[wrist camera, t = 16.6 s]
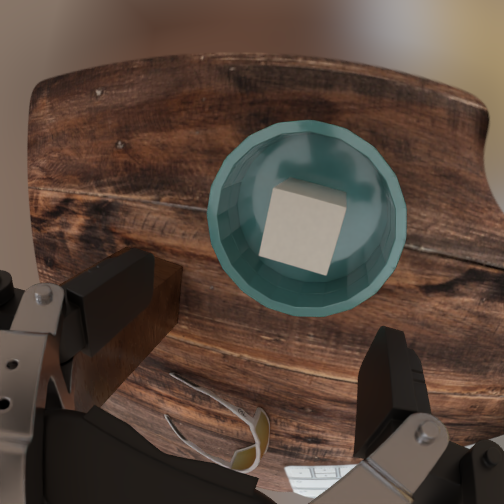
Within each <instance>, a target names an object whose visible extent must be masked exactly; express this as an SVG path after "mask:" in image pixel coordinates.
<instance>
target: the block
mask: <svg viewBox="0 0 504 504" xmlns="http://www.w3.org/2000/svg"><path fill="white" fill-rule="evenodd" d="M346 208H347V207H346V192H343V191H340V190H336V189H332V188H329V187H325V186H322V185H318V184H314V183H310V182H307V181H303V180H299V179H295V178H291V177H290V178H288V179H287V180H285V181H283V182H282V183H280V184H279V185H277V186H275V187H274V188H273V191H272V195H271V200H270V205H269V209H268V214H267V219H266V223H265V228H264V233H263V237H262V242H261V247H260V251H259V256H261V257H265V258H268V259H271V260H275V261H278V262H282V263H285V264H288V265H292V266H295V267H299V268H302V269H305V270H309V271H312V272H315V273H319V274H322V275H327V272H328V269H329V266H330V263H331V260H332V256H333V253H334V250H335V247H336V243H337V240H338V236H339V233H340V230H341V226H342V223H343V219H344V216H345V212H346Z"/></svg>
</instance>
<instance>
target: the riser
mask: <svg viewBox="0 0 504 504" xmlns="http://www.w3.org/2000/svg"><path fill="white" fill-rule="evenodd" d="M130 249H131V248H128V247H125V248H123V249H122V250H120V251H118V252H116V253H114V254H112V255H111V256H109V257H107V258H105V259H103V260H102V261H104V260H106V259H109V258H113V257H117V256H120V255H121V254H123V253H125V252H127V251H128V250H130ZM154 258H155V266H154V288H153V296H152V300H151V302H150V304H149V305H148V307H147V308H146V309H145V310H144V311H142V312H141V313H140V314H139V315H138V316H137V317H136V318H135V319H134V320H132V321H131V322H130V323H129V324H128V325H127V326H126V327H125V328H124V329H123V330H121V331H120V332H119V333H118V334H117V335H116V336H115V337H114V338H113V339H112V340H110V341H109V342H108V343H107V344H106V345H105V346H104V347H103V348H102V349H101V350H100V351H99V352H97V353H96V354H95V355H94V356H93V357H92V358H91V357H89V356H88V355H86V354H84V353H83V352H81V351H79V352H78V353H77V354H75V356H76V374H75V394H74V405H75V410H76V411H80V412H84V413H87V412H88V411H89V410H90V409H91V408H92V407H93V406H94V405H96V406H98V407H99V408H100V407H101V406H102V405H103V404H104V403H105V402H106V401H107V399H108V398H109V397H110V396H111V395H112V394H113V393H114V392H115V391H116V390H117V388H118V387H119V386H120V385H121V384H122V383H123V382H124V381H125V380H126V379H127V378H128V376H129V375H130V374H131V373H132V372H133V371H134V370H135V369H136V368H137V367H138V366H139V364H140V363H141V362H142V361H143V360H144V359H145V358H146V357H147V356H148V355H149V354H150V352H151V351H152V350H153V349H154V348H155V347H156V346H157V345H158V344H159V343H160V342H161V340H162V339H163V338H164V337H165V336H166V335H167V334H168V333H169V332H170V331H171V330H172V329H173V327H174V326H175V325H176V324H177V323H178V311H179V299H180V288H181V277H182V268H183V267H182V266H180V265H177V264H174V263H171V262H168V261H165V260H162V259H159V258H157V257H154ZM102 261H100V262H102ZM100 262H98V263H96V264H95V265H93V266H91V267H89V268H87V269H86V270H84V271H82V272H80V273H79V274H77V275H75V276H74V277H72V278H70V279H68V280H67V281H65V282H63V283H62V284H60V285H59V286H62V285H64V284H65V283H67V282H68V281H70V280H72V279H73V278H75V277H77V276H78V275H80V274H82V273H83V272H85V271H88V269H90V268H92V267H95V266H96V265H97V264H99V263H100Z"/></svg>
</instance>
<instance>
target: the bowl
mask: <svg viewBox="0 0 504 504" xmlns="http://www.w3.org/2000/svg"><path fill="white" fill-rule="evenodd" d="M290 177H291V178H295V179H299V180H303V181H307V182H310V183H314V184H318V185H322V186H325V187H329V188H332V189H336V190H340V191H343V192H346V207H347V208H346V212H345V216H344V219H343V223H342V226H341V230H340V233H339V236H338V240H337V243H336V247H335V250H334V253H333V256H332V260H331V263H330V266H329V269H328V272H327V275H322V274H319V273H315V272H312V271H309V270H305V269H302V268H299V267H295V266H292V265H288V264H285V263H282V262H278V261H275V260H271V259H268V258H265V257H261V256H259V251H260V247H261V242H262V237H263V233H264V228H265V223H266V219H267V214H268V209H269V205H270V200H271V195H272V191H273V188H274V187H275V186H277V185H279V184H280V183H282V182H283V181H285V180H287V179H288V178H290ZM207 220H208V226H209V233H210V240H211V245H212V247H213V249H214V251H215V253H216V255H217V258H218V260H219V262H220V264H221V266H222V268H223V270H224V271H225V272H226V273H227V274H228V276H229V277H230V278H231V279H232V280H233V281H234V282H235V284H236V285H237V286H238V287H239V288H240V289H241V290H242V291H243V292H244V293H245V294H247V295H248V296H250V297H251V298H253V299H254V300H256V301H258V302H259V303H261V304H262V305H264V306H265V307H267V308H270V309H273V310H276V311H279V312H282V313H286V314H289V315H292V316H307V317H323V316H324V317H325V316H328V315H332V314H336V313H339V312H343V311H347V310H350V309H352V308H354V307H356V306H357V305H359V304H360V303H362V302H363V301H365V300H367V299H368V298H370V297H371V296H373V295H374V294H376V292H377V291H378V290H379V289H380V288H381V287H382V285H383V284H384V283H385V282H386V280H387V279H388V278H389V277H390V275H391V274H392V273H393V272H394V270H395V269H396V267H397V264H398V261H399V259H400V256H401V253H402V250H403V248H404V245H405V242H406V234H407V208H406V203H405V200H404V197H403V194H402V191H401V188H400V185H399V182H398V179H397V176H396V175H395V173H394V171H393V170H392V169H391V167H390V166H389V165H388V163H387V162H386V161H385V160H384V158H383V157H382V156H381V154H380V153H379V152H378V151H377V149H376V148H375V147H374V146H372V145H371V144H369V143H368V142H366V141H365V140H363V139H362V138H360V137H359V136H357V135H356V134H354V133H353V132H351V131H349V130H348V129H346V128H343V127H340V126H336V125H332V124H328V123H324V122H320V121H316V120H300V121H289V122H279V123H276V124H273V125H271V126H269V127H267V128H265V129H262V130H260V131H258V132H256V133H254V134H252V135H249V136H248V137H247V138H246V139H245V140H244V141H243V142H241V143H240V144H239V145H238V146H237V147H236V148H235V149H234V150H233V151H232V152H231V153H230V154H229V155H228V156H227V157H226V159H225V160H224V162H223V164H222V166H221V167H220V169H219V171H218V173H217V175H216V177H215V179H214V181H213V183H212V185H211V190H210V196H209V203H208V209H207Z"/></svg>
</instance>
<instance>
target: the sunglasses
mask: <svg viewBox="0 0 504 504" xmlns="http://www.w3.org/2000/svg"><path fill="white" fill-rule="evenodd" d="M170 375H171V376H173V377H175V378H176V379H178V380H180V381H182V382H183V383H185V384H187V385H189V386H191V387H192V388H194V389H196V390H198V391H200V392H202V393H205V394H207V395H209V396H210V397H212V398H213V399H215V400H217V401H218V402H220V403H221V404H223V405H224V406H225V407H227V408H228V409H230V410H231V411H232V412H233V413H235V414H236V415H237V416H238V417H240V418H241V419H242V420H243V421H245V422H246V423H247V424H248V425H249V426H250V430H251V432H252V434H253V436H254V439H255V444H254V445H252V446H249V447H246V448H243V449H239V450H236V451H235V453H234V455H233V457H232V459H231V461H230V463H229V462H227V461H225V460H223V459H221V458H219V457H215V456H212V455H209V454H207V453H206V452H204V451H203V450H201V449H200V448H199V447H198V446H197V445H195V444H194V443H192V442H191V441H189V440H188V439H187V438H185V437H184V436H183V434H182V433H181V432H180V431H179V430H178V429H177V427H176V426H175V424H174V423H173V422H172V420H171V419H170V417H169V416H168V415H166V414H165V415H164V416H165V418H166V419H167V421H168V423H169V424H170V426H171V427H172V429H173V430H174V431H175V433H176V434H177V435H178V436H179V437H180V438H181V439H182V440H183V441H184V442H185V443H186V444H187V445H189V446H190V447H192V448H193V449H195V450H196V451H198V452H199V453H201V454H202V455H204V456H205V457H207V458H209V459H210V460H212V461H214V462H216V463H217V464H219V465H221V466H224V467H226V468H229V469H232V470H235V471H238V472H241V473H248V472H250V471H252V470H254V469H255V468H256V467H257V466H258V464H259V461H260V460H261V458H262V456H263V454H265V453H266V451H267V448H268V444H269V435H270V422H269V418H268V417H267V415H266V413H265V411H264V410H263V409H262V408H257V409H256V412H255V414H254V417H251V416H250V415H248V414H247V413H246V412H245V411H244V410H243V409H241V408H239V407H236V406H234V405H232V404H230V403H229V402H227V401H225V400H224V399H222V398H220V397H219V396H217V395H216V394H215V393H213V392H212V391H211V390H208V389H206V388H204V387H201V386H199V385H197V384H195V383H193V382H191V381H190V380H188V379H186V378H184V377H182V376H180V375H178V374H176V373H170Z"/></svg>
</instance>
